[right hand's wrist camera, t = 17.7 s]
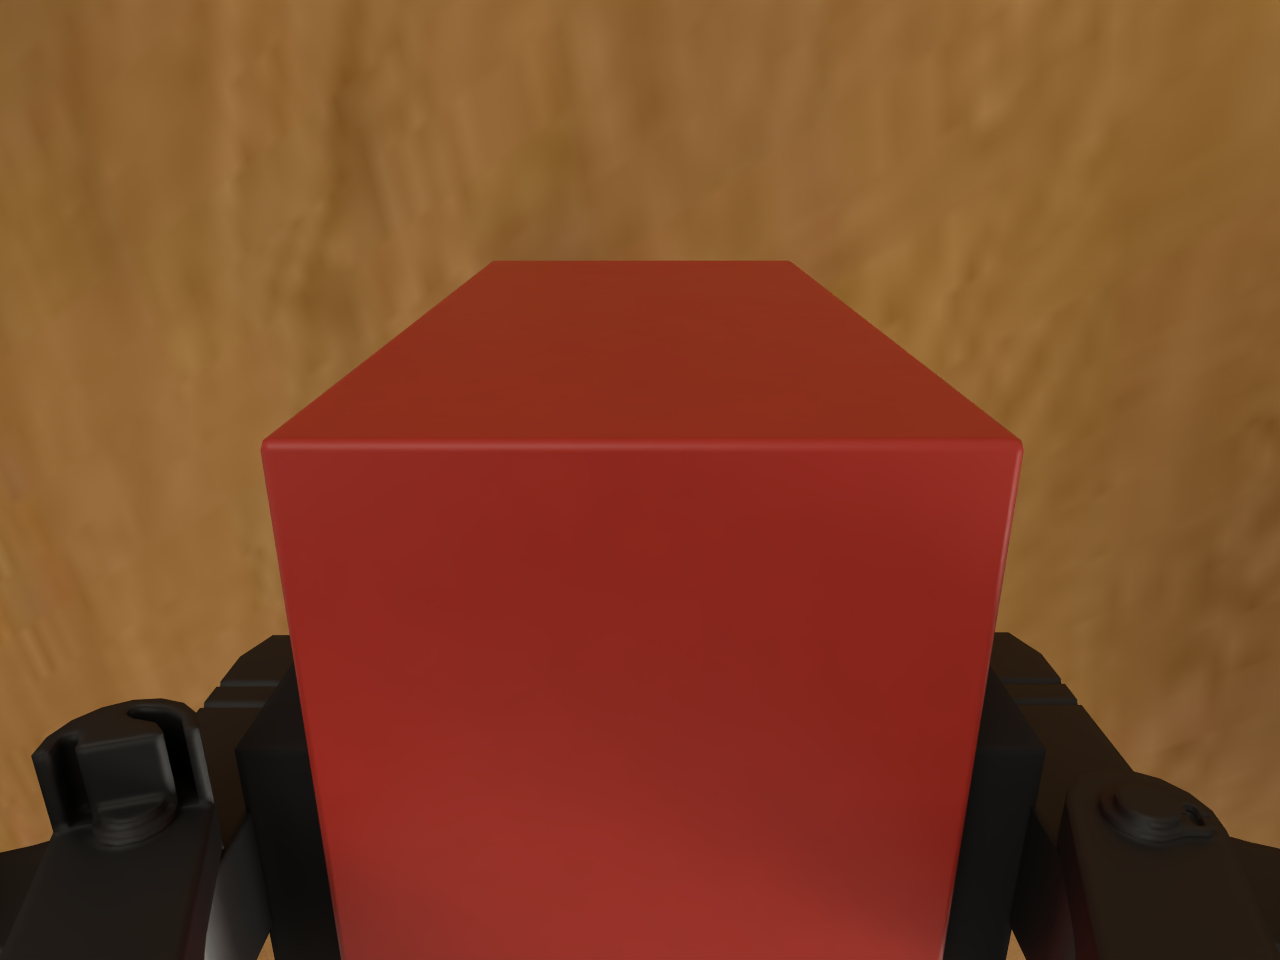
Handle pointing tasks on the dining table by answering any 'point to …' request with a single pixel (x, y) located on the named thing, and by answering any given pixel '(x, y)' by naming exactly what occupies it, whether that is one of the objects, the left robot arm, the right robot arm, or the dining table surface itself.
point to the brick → (641, 621)
